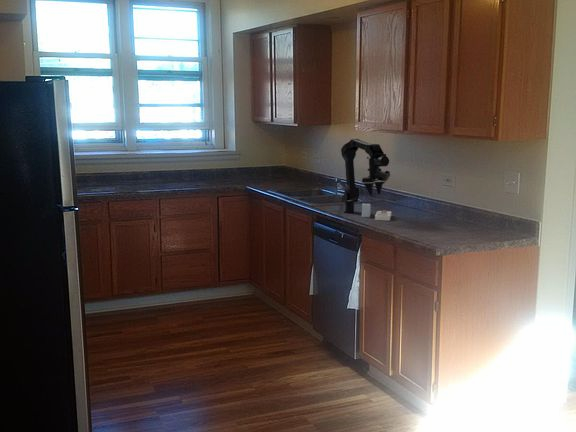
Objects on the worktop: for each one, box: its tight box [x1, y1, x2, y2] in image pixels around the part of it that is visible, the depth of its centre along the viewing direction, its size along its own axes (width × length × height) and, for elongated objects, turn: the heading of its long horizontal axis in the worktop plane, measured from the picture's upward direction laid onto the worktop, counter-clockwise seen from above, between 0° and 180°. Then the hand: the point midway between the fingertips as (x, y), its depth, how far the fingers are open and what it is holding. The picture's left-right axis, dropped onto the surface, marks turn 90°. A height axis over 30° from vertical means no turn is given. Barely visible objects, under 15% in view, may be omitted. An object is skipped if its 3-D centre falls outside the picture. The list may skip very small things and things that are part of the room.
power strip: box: [374, 209, 392, 221], centre depth 365 cm, size 16×8×3 cm, turn 168°
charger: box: [361, 203, 371, 218], centre depth 370 cm, size 4×4×7 cm
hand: (375, 194), depth 361 cm, fingers open, 9 cm apart
